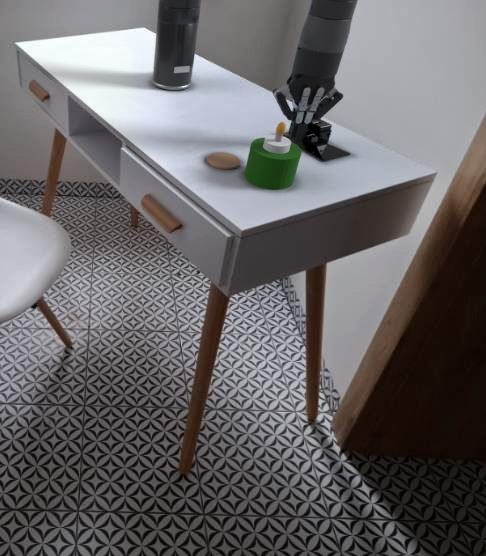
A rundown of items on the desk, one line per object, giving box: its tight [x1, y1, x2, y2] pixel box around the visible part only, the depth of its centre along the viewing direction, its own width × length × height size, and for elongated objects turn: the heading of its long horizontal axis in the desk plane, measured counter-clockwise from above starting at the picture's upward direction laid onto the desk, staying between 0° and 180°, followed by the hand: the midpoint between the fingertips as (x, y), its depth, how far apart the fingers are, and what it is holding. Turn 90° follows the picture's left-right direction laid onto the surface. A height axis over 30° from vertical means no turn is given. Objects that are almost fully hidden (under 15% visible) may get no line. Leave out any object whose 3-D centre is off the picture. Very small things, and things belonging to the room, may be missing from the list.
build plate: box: [283, 118, 351, 163], centre depth 98 cm, size 12×7×5 cm, turn 28°
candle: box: [244, 121, 303, 191], centre depth 86 cm, size 8×8×10 cm
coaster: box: [206, 151, 241, 170], centre depth 93 cm, size 6×6×1 cm
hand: (294, 140), depth 98 cm, fingers closed
